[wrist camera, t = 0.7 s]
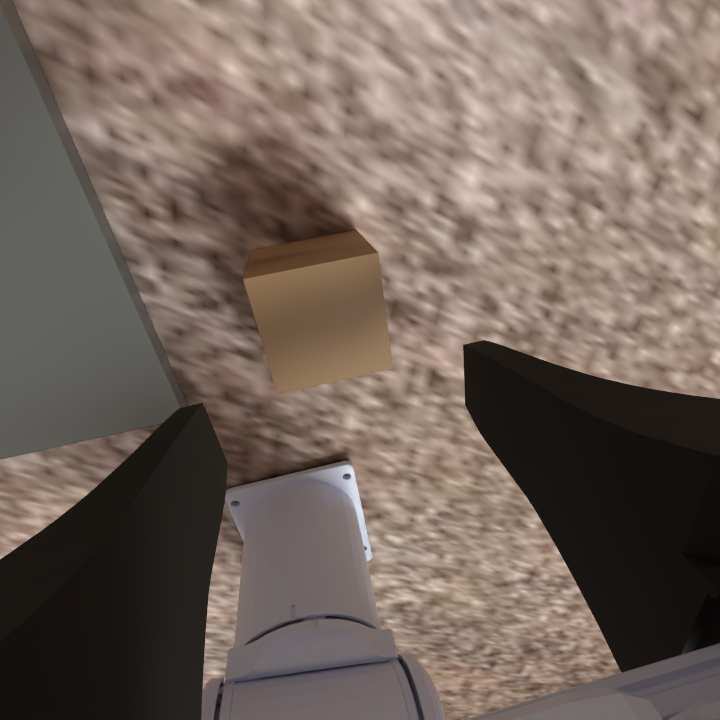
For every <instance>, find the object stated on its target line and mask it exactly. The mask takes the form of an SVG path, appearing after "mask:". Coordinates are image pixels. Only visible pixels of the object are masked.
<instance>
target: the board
mask: <svg viewBox="0 0 720 720" xmlns="http://www.w3.org/2000/svg"><path fill="white" fill-rule="evenodd" d="M187 406H188V405H187V402H186V400H185V398H184V395H183V393H182V391H181V389H180V386H179V384H178V382H177V379H176V377H175V375H174V372H173V370H172V368H171V365H170V363H169V361H168V359H167V356H166V354H165V352H164V349H163V347H162V345H161V342H160V340H159V338H158V336H157V333H156V331H155V329H154V326H153V324H152V322H151V319H150V317H149V315H148V312H147V310H146V308H145V306H144V303H143V301H142V299H141V296H140V294H139V292H138V289H137V287H136V285H135V283H134V280H133V278H132V276H131V273H130V271H129V269H128V266H127V264H126V262H125V260H124V257H123V255H122V253H121V250H120V248H119V246H118V243H117V241H116V239H115V236H114V234H113V232H112V230H111V227H110V225H109V223H108V220H107V218H106V216H105V213H104V211H103V209H102V207H101V204H100V202H99V200H98V197H97V195H96V193H95V190H94V188H93V186H92V183H91V181H90V179H89V177H88V174H87V172H86V170H85V167H84V165H83V163H82V160H81V158H80V156H79V154H78V151H77V149H76V147H75V144H74V142H73V140H72V137H71V135H70V133H69V130H68V128H67V126H66V124H65V121H64V119H63V117H62V114H61V112H60V110H59V107H58V105H57V103H56V101H55V98H54V96H53V94H52V91H51V89H50V87H49V84H48V82H47V80H46V78H45V75H44V73H43V71H42V68H41V66H40V64H39V61H38V59H37V57H36V54H35V52H34V50H33V48H32V45H31V43H30V41H29V38H28V36H27V34H26V31H25V29H24V27H23V25H22V22H21V20H20V18H19V15H18V13H17V11H16V8H15V6H14V4H13V1H12V0H0V460H1V459H5V458H9V457H14V456H18V455H23V454H27V453H32V452H36V451H41V450H45V449H50V448H54V447H59V446H63V445H68V444H72V443H77V442H81V441H86V440H90V439H94V438H99V437H103V436H108V435H112V434H117V433H121V432H126V431H130V430H135V429H139V428H144V427H148V426H153V425H157V424H162V423H164V422H165V421H166V420H167V419H168V418H169V417H170V416H171V415H172V414H173V413H174V412H175V411H177V410H178V409H179V408H182V407H187Z"/></svg>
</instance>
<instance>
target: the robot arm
mask: <svg viewBox="0 0 720 720" xmlns="http://www.w3.org/2000/svg"><path fill="white" fill-rule="evenodd" d="M463 350H464V379H465V405H466V407H467V409H468V411H469V413H470V415H471V417H472V419H473V421H474V423H475V425H476V426H477V428H478V430H479V432H480V434H481V435H482V436H483V438H484V439H485V441H486V442H487V443H488V445H489V446H490V448H491V449H492V450H493V452H494V453H495V455H496V456H497V457H498V459H499V460H500V461H501V463H502V464H503V465H504V467H505V468H506V469H507V471H508V472H509V474H510V475H511V476H512V478H513V479H514V480H515V482H516V483H517V484H518V486H519V487H520V488H521V490H522V491H523V493H524V494H525V495H526V497H527V498H528V500H529V501H530V503H531V504H532V506H533V507H534V509H535V510H536V512H537V514H538V516H539V517H540V519H541V521H542V522H543V524H544V526H545V528H546V529H547V531H548V533H549V534H550V536H551V538H552V540H553V541H554V543H555V545H556V547H557V548H558V550H559V552H560V554H561V556H562V557H563V559H564V561H565V563H566V565H567V567H568V568H569V570H570V572H571V574H572V576H573V577H574V579H575V581H576V583H577V585H578V587H579V589H580V591H581V593H582V595H583V596H584V598H585V600H586V602H587V604H588V606H589V608H590V610H591V612H592V614H593V616H594V618H595V620H596V621H597V623H598V625H599V627H600V629H601V631H602V634H603V636H604V638H605V640H606V642H607V644H608V646H609V648H610V650H611V652H612V654H613V656H614V658H615V660H616V662H617V664H618V666H619V668H620V670H621V672H622V673H619V674H616V675H612V676H609V677H606V678H602V679H599V680H596V681H592V682H589V683H586V684H582V685H579V686H576V687H572V688H569V689H566V690H562V691H559V692H556V693H552V694H549V695H546V696H542V697H539V698H536V699H532V700H529V701H526V702H522V703H519V704H516V705H512V706H509V707H506V708H502V709H499V710H496V711H492V712H489V713H486V714H482V715H479V716H476V717H472V718H469V719H466V720H720V399H716V398H708V397H700V396H692V395H685V394H678V393H672V392H666V391H660V390H653V389H648V388H643V387H638V386H633V385H629V384H624V383H620V382H615V381H611V380H607V379H603V378H599V377H595V376H591V375H588V374H584V373H581V372H578V371H574V370H571V369H568V368H565V367H562V366H559V365H555V364H552V363H550V362H547V361H544V360H541V359H538V358H535V357H533V356H530V355H527V354H524V353H522V352H519V351H516V350H513V349H511V348H508V347H505V346H502V345H499V344H496V343H493V342H489V341H485V340H483V341H479V342H474V343H470V344H465V345H463ZM348 473H349V475H344V474H348ZM226 475H227V461H226V458H225V456H224V453H223V451H222V448H221V446H220V444H219V441H218V439H217V436H216V434H215V431H214V429H213V427H212V424H211V422H210V419H209V417H208V415H207V412H206V410H205V407H204V405H203V403H200V404H196V405H191V406H187V407H182V408H179V409H178V410H177V411H175V412H174V413H173V414H172V415H171V416H170V417H169V418H168V419H167V420H166V421H165V422H164V423H163V424H162V425H161V426H160V427H159V428H158V429H157V430H156V431H155V432H154V433H153V434H152V435H151V436H150V437H149V438H148V439H147V440H146V441H145V442H144V443H142V444H141V445H140V446H139V447H138V448H137V449H136V450H135V451H134V452H133V453H132V454H131V455H130V456H129V457H128V458H127V459H126V460H125V461H124V462H123V463H122V464H121V465H120V466H119V467H118V468H116V469H115V470H114V471H113V472H112V473H111V474H110V475H109V476H108V477H107V478H106V479H104V480H103V481H102V482H101V483H100V484H99V485H98V486H97V487H96V488H95V489H93V490H92V491H91V492H90V493H89V494H88V495H87V496H85V497H84V498H83V499H82V500H80V501H79V502H78V503H77V504H76V505H74V506H73V507H72V508H71V509H69V510H68V511H67V512H66V513H64V514H63V515H62V516H60V517H59V518H58V519H57V520H55V521H54V522H53V523H51V524H50V525H49V526H47V527H46V528H45V529H43V530H42V531H41V532H39V533H38V534H36V535H35V536H33V537H32V538H31V539H29V540H28V541H26V542H25V543H23V544H22V545H21V546H19V547H18V548H16V549H15V550H13V551H12V552H11V553H9V554H8V555H6V556H5V557H3V558H2V559H1V560H0V720H446V718H445V714H444V711H443V707H442V704H441V701H440V698H439V695H438V693H437V690H436V688H435V685H434V683H433V681H432V679H431V677H430V675H429V674H428V672H427V671H426V670H425V669H424V668H423V667H422V666H421V665H420V664H419V662H418V660H417V659H416V658H415V657H414V656H413V655H412V654H410V653H407V652H405V653H400V654H397V649H396V645H395V641H394V637H393V632H392V630H391V629H381V625H380V620H379V616H378V611H377V606H376V602H375V597H374V592H373V587H372V583H371V578H370V573H369V568H368V564H367V561H369V560H370V559H371V558H372V553H371V548H370V543H369V539H368V534H367V529H366V525H365V520H364V515H363V511H362V506H361V501H360V497H359V492H358V487H357V483H356V478H355V473H354V469H353V465H352V463H351V462H350V461H342V462H338V463H333V464H329V465H325V466H321V467H317V468H312V469H308V470H304V471H300V472H296V473H292V474H287V475H283V476H279V477H275V478H271V479H267V480H262V481H258V482H254V483H250V484H246V485H242V486H237V487H233V488H230V489H228V490H227V491H226ZM225 501H226V504H227V506H228V508H229V510H230V513H231V515H232V517H233V519H234V522H235V524H236V526H237V529H238V531H239V533H240V535H241V538H242V540H243V542H244V546H243V557H242V568H241V579H240V589H239V600H238V611H237V622H236V633H235V644H234V648H231V649H229V650H228V656H227V666H226V675H225V683H224V678H212V679H210V680H209V681H208V682H207V684H206V686H205V688H204V689H203V690H202V684H203V665H204V647H205V631H206V618H207V605H208V593H209V586H210V579H211V573H212V567H213V562H214V557H215V551H216V546H217V540H218V535H219V530H220V524H221V519H222V513H223V507H224V502H225ZM233 501H238V502H233Z"/></svg>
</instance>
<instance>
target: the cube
mask: <svg viewBox="0 0 720 720" xmlns="http://www.w3.org/2000/svg"><path fill="white" fill-rule="evenodd" d="M243 281H244V284H245V287H246V291H247V294H248V298H249V301H250V304H251V308H252V311H253V314H254V318H255V321H256V324H257V328H258V331H259V334H260V338H261V341H262V344H263V348H264V351H265V354H266V358H267V361H268V364H269V368H270V371H271V374H272V378H273V381H274V384H275V388H276V391H277V394H281V393H285V392H290V391H294V390H299V389H303V388H308V387H312V386H316V385H321V384H325V383H330V382H334V381H339V380H343V379H348V378H352V377H357V376H361V375H366V374H370V373H375V372H379V371H384V370H388V369H393V364H392V356H391V348H390V341H389V333H388V326H387V318H386V310H385V303H384V295H383V287H382V280H381V272H380V265H379V257H378V252H377V251H376V250H375V249H374V248H373V247H372V246H371V245H370V244H369V243H368V242H367V241H366V240H365V238H364V237H363V236H362V235H361V234H360V233H359V232H358V231H357V230H352V231H347V232H342V233H337V234H332V235H327V236H321V237H316V238H311V239H306V240H301V241H296V242H290V243H285V244H280V245H275V246H270V247H264V248H259V249H254V250H251V253H250V257H249V260H248V264H247V267H246V271H245V274H244V278H243Z"/></svg>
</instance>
